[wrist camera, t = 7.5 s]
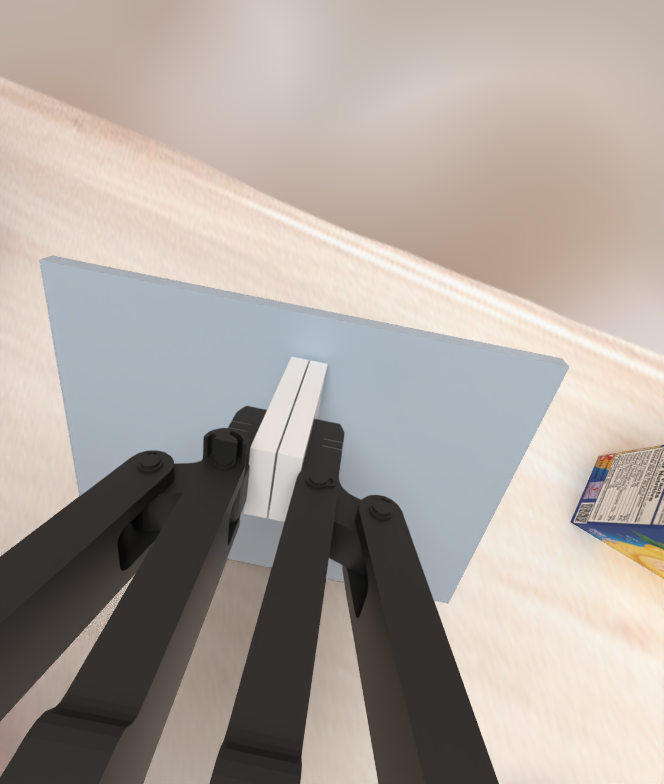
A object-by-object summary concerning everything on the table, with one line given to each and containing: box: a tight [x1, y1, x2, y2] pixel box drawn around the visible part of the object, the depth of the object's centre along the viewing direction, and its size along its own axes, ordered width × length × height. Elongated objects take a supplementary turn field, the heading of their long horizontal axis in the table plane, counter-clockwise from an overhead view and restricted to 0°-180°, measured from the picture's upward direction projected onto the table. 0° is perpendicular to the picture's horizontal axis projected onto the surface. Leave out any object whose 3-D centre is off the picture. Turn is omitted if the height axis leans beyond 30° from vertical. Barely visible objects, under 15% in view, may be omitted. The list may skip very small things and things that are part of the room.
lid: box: [40, 256, 569, 603], centre depth 22 cm, size 22×16×1 cm
